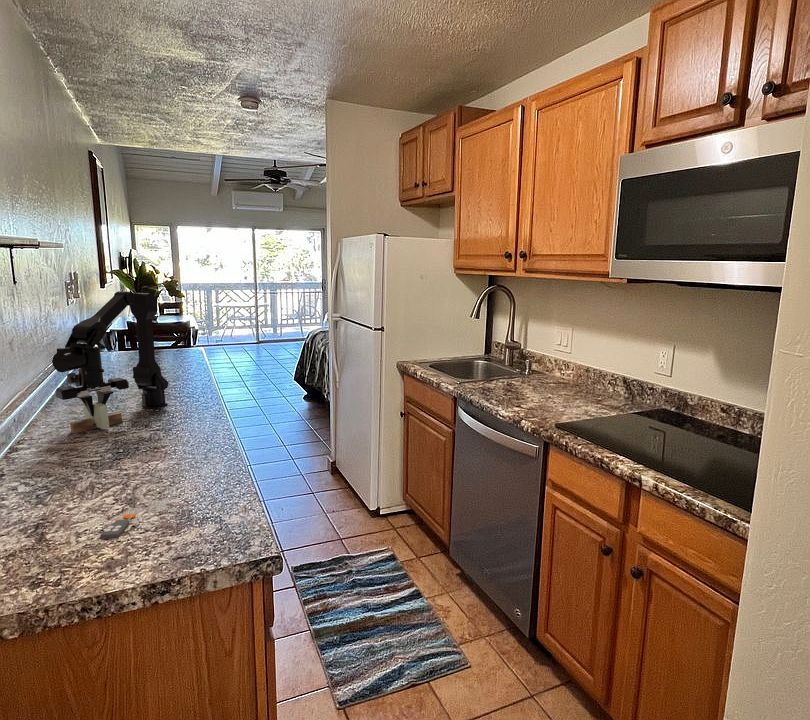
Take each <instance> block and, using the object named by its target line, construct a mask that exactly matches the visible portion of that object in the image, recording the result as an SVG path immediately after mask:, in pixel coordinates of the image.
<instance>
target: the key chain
mask: <svg viewBox="0 0 810 720" xmlns="http://www.w3.org/2000/svg"><path fill="white" fill-rule="evenodd" d="M142 511H143V510H142V509H141V510H140V509H139V510H137V511H135V512H133V513H127V514H124V515H123V519H117V520H115V521H114V522H112V523H111V524H110V525H109V526H108V527H107V528H105V529H104V530H103V532H101V534H100V536H99V537H100V538H101V539H117V538H119V537H121V536H122V534H123V533H124V532H125V530H126V529H127V528H128V527H129V525H130V520H131V519H135V518H136V516H137V514H139V513H140V512H142Z"/></svg>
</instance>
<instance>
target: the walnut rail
mask: <svg viewBox="0 0 810 720" xmlns="http://www.w3.org/2000/svg"><path fill="white" fill-rule="evenodd" d="M108 419H109V426H112V425H116V424H121V423H123V415H122V412H119V411H117V412H113V413H108ZM69 425H70V433H73V434H76V433H77V434H78V433H81V432H85V431H90V430H94V429H99V428H98V427H96V423H95V424H93V419H91V418H88V419H85V418H84V419H80V420H75V421H70V422H69Z"/></svg>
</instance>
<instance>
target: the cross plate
mask: <svg viewBox="0 0 810 720" xmlns="http://www.w3.org/2000/svg"><path fill="white" fill-rule="evenodd" d="M92 400H93V409H94V416H93V417H92V416H91V415H90V413H89V412H88V410H87V408H86V406H85V404H84V403H83V410H84V419H88V418H91V419H93V424H95V423H96V427H98V428H97V429H100V430H107V429H109V428H110V425H109V419H108V414H109V412H108V405H107V404H106V405H104V404H102V403H99V402H98V400H97V401H96V400H94V399H92Z"/></svg>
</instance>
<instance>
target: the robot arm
mask: <svg viewBox="0 0 810 720" xmlns="http://www.w3.org/2000/svg"><path fill="white" fill-rule="evenodd" d="M128 306H129V309H130V312H131V314H132V315H133V317H134V318H135V320H136V336H137V352H138V362H137V364H136V366H132V375H133V376H132V379H134V384H136V386H137V389H138V390H142V391H141V392H142V393H141V407H145V408H146V409H155V408H159V407H163V406H168V405H169V404H168V402H166V397H165V396H166V395H165V390H166V389H168V388H169V384H170V383H169V381H168V380H167V379H166V378H165V377H164V376H163V374H162V370H161V367H160V365H159V364H158V363H157V361H156V358H155V357H156V355H155V354H156V353H155V341H154V338H155V337H154V323H153V321H154V320H153V319H154V317H155V315H156V314H157V311H158V299H157V296H155V295H154V294H153V293H152V292H151V293H149V292H147V293H146V292H132V291H129V290H126V291H123V290H120V291H117V292H116V291H115V293H114V294H113V296H112V297H111V298H110V299H109V300H108V301H107V302H106V303H105V304H104V305H103V306H102V307H100V309H99V310H98V311H97V312H96V313H95V314H94V315H92V316H91V317H89V318H87V319H86V318H85V319H84V320H82V321H80V322H78V323H77V324H75V325H73V327H72V328H71V334H70V335H69V337H68V340H67V341H66V344H65V345H64V347H59V348H56V353H55V354H54V355H53V357H52V359H51V362H52V363H51V364H52V366H53V368H54V369H55V370H56V371H57V372H58V373H66V372H70V371H74V370H78V373H77V374H76V373H75V372H70V373H67V374H66V379H67V384H68V385H65V386H60V387H57V388H56V390H55V391H54V393H55V397H56V398H57V399H60V400H63V401H64V400H65V401H67V400H71V399H76V398H77V399H79V400H80V401H81V402H82V404H83V405H84V404H85V406H86V408H87V410H88V412H89V413H90V415H91V416H92V417H93V416H94V409H93V400H94V399H93V396H92V395H90V392H96V396H97V402H99V403H102V404H104V405H107V403H108V401H109V398H110V396H111V395H113V394H114V391H113V390H112V389H113V388H116V389H117V390H119V391H121V390H125V389H127V390H128V389H129V388H130V385H129V381H128V380H127V379H126V378H122V377H114V378H108V380H107V382H105V381H104V373H105V368H103V363H102V354H101V350H105V349H106V348H107V346H106V345H104V344H102V343H101V342H102V340H103V338H104V337H105V335H106V334H107V328H108V326H109V325H110V324H111V323H112V322H114V320H116V318H117V317H118V316H119V315H120V314H121V313H122V312H123V311H124V310H125V309H126V308H127V307H128ZM73 384H74V386H75V387H74V386H72V385H73Z"/></svg>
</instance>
